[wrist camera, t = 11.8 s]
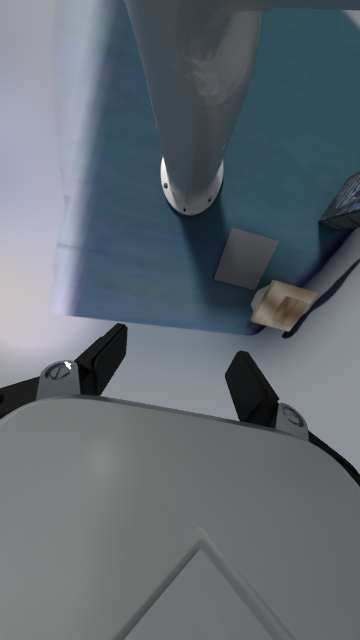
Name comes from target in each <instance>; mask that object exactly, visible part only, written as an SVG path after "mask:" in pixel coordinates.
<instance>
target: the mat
mask: <svg viewBox="0 0 360 640" xmlns="http://www.w3.org/2000/svg"><path fill="white" fill-rule="evenodd" d="M279 242H280V241H277V240H273V239H270V238H267V237H263V236H260V235H257V234H253V233H250V232H247V231H243V230H240V229H237V228H233V227H232V228H231V230H230V233H229V236H228V239H227V242H226V245H225V248H224V250H223V253H222V256H221V259H220V262H219V265H218V268H217V271H216V273H215V276H214V280H218V281H221V282H225V283H229V284H233V285H236V286H240V287H244V288H248V289H251V290H255V289H256V288H257V286H258V284H259V282H260V280H261V278H262V276H263V274H264V272H265V270H266V268H267V266H268V264H269V262H270V260H271V258H272V256H273V254H274V252H275V250H276V248H277V246H278V244H279Z"/></svg>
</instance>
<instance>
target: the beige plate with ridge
mask: <svg viewBox="0 0 360 640" xmlns="http://www.w3.org/2000/svg"><path fill="white" fill-rule="evenodd" d="M316 295H317V293H315V292H312V291H309V290H306V289H302V288H299V287H296V286H292V285H289V284H286V283H282V282H279V281H276V280H272V282H271V283H270V285H269V287H268V289H267V291H266V292H265V294H264V296H263V298H262V299H261V301H260V303H259V305H258V306H257V308H256V310H255V312H254V313H253V315H252V317H251V319H250V320H251V321H252V322H255V323H258V324H262V325H266V326H269V327H273V328H277V329H281V330H284V331H288V332H289V331H290V330H291V328H292V327H293V326H294V324H295V323H296V322H297V320H298V319H299V318H300V317H301V315H302V314H303V313H304V311H305V310H306V309H307V307H308V306H309V305H310V303H311V302H312V301H313V299H314V298H315V297H316Z"/></svg>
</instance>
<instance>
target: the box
mask: <svg viewBox="0 0 360 640" xmlns="http://www.w3.org/2000/svg"><path fill="white" fill-rule="evenodd" d="M319 222H321V223H322V224H324V225H326V226H328V227H330V228H332V229H334V230H336V231H342V230H347V229H353V228H358V227H360V172H359V173H357V174H355V175H353V176H351V177H349V179H348V180H347V182H346V183H345V185H344V186H343V187H342V189H341V190H340V192H339V193H338V195H337V196H336V197H335V199H334V200H333V202H332V203H331V205H330V206H329V207H328V209H327V210H326V212H325V213H324V214H323V216H322V217H321V219H320V220H319Z"/></svg>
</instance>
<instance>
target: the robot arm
mask: <svg viewBox="0 0 360 640" xmlns="http://www.w3.org/2000/svg"><path fill="white" fill-rule="evenodd" d="M124 1H125V4H126V7H127V10H128V13H129V16H130V20H131V23H132V26H133V30H134V33H135V37H136V41H137V44H138V48H139V52H140V56H141V59H142V64H143V68H144V72H145V76H146V81H147V85H148V89H149V94H150V98H151V103H152V108H153V112H154V117H155V122H156V126H157V131H158V135H159V140H160V144H161V149H162V154H163V157H162V163H161V173H160V174H161V184H162V188H163V192H164V195H165V197H166V199H167V201H168V202H169V204H170V205H171V207H172V208H174V209H175V210H176V211H177V212H179V213H180V214H183V215H188V216H192V215H197V214H200V213H202V212H203V211H205V210H206V209H207V208H208V207H209V206H210V205H211V204H212V203H213V201H214V200H215V198H216V196H217V194H218V192H219V190H220V187H221V183H222V179H223V157H224V154H225V152H226V149H227V146H228V143H229V141H230V138H231V135H232V133H233V130H234V127H235V124H236V122H237V119H238V116H239V113H240V111H241V108H242V106H243V103H244V100H245V97H246V94H247V91H248V88H249V84H250V81H251V77H252V73H253V68H254V63H255V59H256V53H257V46H258V39H259V29H260V19H261V11H268V12H269V11H270V10H271V9H272V7H274V8H306V9H338V10H360V0H124ZM165 187H167V189H165ZM208 200H210V202H208ZM184 209H186V211H184ZM127 329H128V328H127V327H126V326H125V325H124V324H120V323H117V324H116V325H115V326H114V327H113V328H112V329H110V330H109V331H108V332H107V333H106V334H105V335H104V336H103V337H100V338H99V339H98V340H96V341H95V342H94V343H93V344H92V345H91V346H90V347H89V348H88V349H87V350H85V351H84V352H83V353H82V354H81V355H80V356H79V357H78V358H77V359H76V360H74V361H70V360H64V361H59V362H56V363H53V364H51V365H49V366H48V367H46V368H45V369H44V370H43V371H42V372H41V375H40V376H39V377H36V378H33V379H29V380H26V381H22V382H19V383H16V384H13V385H9V386H7V387H3V388H0V640H360V474H359V473H358V472H357V470H356V469H355V468H354V467H353V466H352V465H351V464H350V463H349V462H348V461H347V460H346V459H344V458H343V457H342V456H341V455H339V454H338V453H337V452H336V451H334V450H333V449H332V448H330V447H329V446H328V445H327V444H325V443H324V442H323V441H321V440H320V439H319V438H317V437H316V436H315V435H314V434H312V433H311V432H310V431H309V430H308V427H307V423H306V421H305V420H304V418H303V417H302V416H301V414H299V412H298V411H296V410H295V409H294V408H293V407H291V406H289V405H287V404H285V403H280V404H279V403H278V402H277V401H278V400H279V397H278V396H277V394H276V393H275V391H274V390H273V388H272V387H271V386H270V384H269V383H268V381H267V380H266V378H265V377H264V375H263V374H262V372H261V371H260V369H259V368H258V366H257V365H256V363H255V362H254V360H253V359H252V357H251V356H250V354H249V353H248V352H245V351H239V352H237V354H236V355H235V357H234V359H233V361H232V363H231V364H230V366H229V368H228V370H227V371H226V373H225V379H226V382H227V385H228V388H229V391H230V394H231V397H232V400H233V403H234V406H235V409H236V412H237V415H238V418H239V420H240V421H235V420H230V419H224V418H220V417H214V416H209V415H204V414H198V413H193V412H188V411H182V410H176V409H171V408H166V407H160V406H154V405H149V404H144V403H138V402H132V401H127V400H121V399H114V398H108V397H102V396H100V395H101V394H102V392H103V390H104V389H105V387H106V386H107V384H108V383H109V381H110V379H111V377H112V376H113V375H114V373H115V371H116V370H117V368H118V367H119V365H120V363H121V362H122V360H123V359H124V357H125V355H126V345H127Z"/></svg>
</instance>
